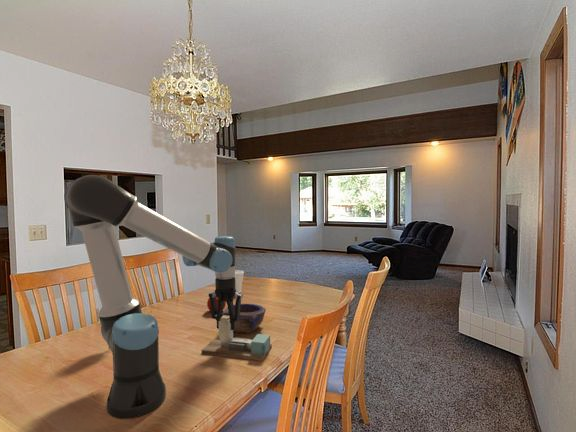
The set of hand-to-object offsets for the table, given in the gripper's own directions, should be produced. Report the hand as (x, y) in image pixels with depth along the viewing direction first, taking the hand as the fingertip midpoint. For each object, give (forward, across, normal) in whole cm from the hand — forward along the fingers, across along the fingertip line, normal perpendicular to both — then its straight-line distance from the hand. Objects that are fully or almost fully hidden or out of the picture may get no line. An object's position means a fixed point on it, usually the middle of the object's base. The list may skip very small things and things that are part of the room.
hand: (226, 337), depth 123 cm
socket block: (+3, -14, 0) cm, 14 cm away
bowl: (+5, 0, -20) cm, 21 cm away
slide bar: (+3, -7, 0) cm, 7 cm away
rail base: (+5, -5, 0) cm, 6 cm away
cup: (+5, +27, -72) cm, 77 cm away
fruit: (+5, +23, -38) cm, 45 cm away
